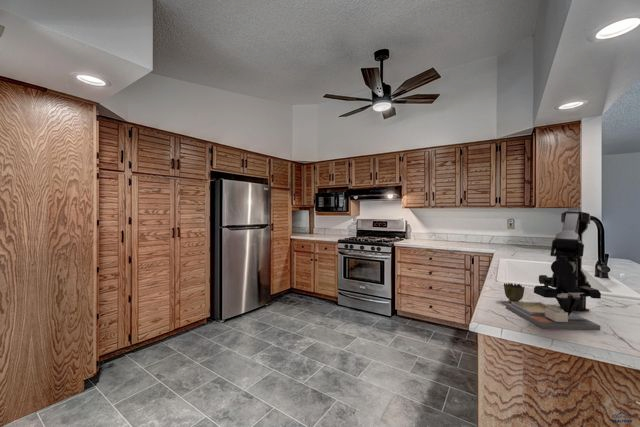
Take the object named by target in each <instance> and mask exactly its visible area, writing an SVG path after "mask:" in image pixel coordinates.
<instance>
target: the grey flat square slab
mask: <svg viewBox="0 0 640 427" xmlns="http://www.w3.org/2000/svg"><path fill="white" fill-rule="evenodd" d="M505 304H506V305H505V307H506V309H508V310H509V311H512V312H513V313H515V314H517V315H518V316H520V317H522V318H523V319H525V320H527V321H528V322H530V323H532V324H534V325H536V327H539V328H540V329H547V330H548V329H550V330H551V329H552V330H553V329H554V330H555V329H556V330H590V331H591V330H592V331H593V330H596V331H600V330H601V325H600V324H598V323H596V322H594V321H591V320H589V319H588V318H585V317H583V316H580V315H578V314H576V313H574V312H571V313H570V315H569V316H568V322H555V321H553V320H551V319H549V318H547V317H546V316H532V315H530V314H528V313H526V312H524V311H522V310H520V309H519V308H517V307H515V306H513V305H511V304H512V303H505ZM547 305H548V306H549V305H550V304H547ZM553 305H554V306H556V307H558V308H560V309H561V307H560V306H558V305H556V304H553Z"/></svg>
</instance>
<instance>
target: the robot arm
mask: <svg viewBox="0 0 640 427" xmlns="http://www.w3.org/2000/svg"><path fill="white" fill-rule="evenodd" d="M560 222H561V223H562V230H561V231H560V232H558V233H556V235H555V236H554V237H555V238H554V239H552V242H551V250H550V257H555V260H554V261H553V262H552V263H551V264H550V270H551V272H552V276H551V277H550V276H548V275H546V274H539V275H538V282H539V284H540V285H535V286H534V287H533V294H536V295H538V296H541V297H543V298H547V299H549V298H551V299H555V300H556V301H557V302H558V305H559V307H560V308H561V309H563V310H564V311H565V312H567V313H568V316H569V315H570V313H573V311H576V312H577V311H580V312H581V311H582V312H589V311H590V309H589V308H586V307H587V297H588V298H589V297H590V298H591V299H601V297H602V296H601V295H602V293H601V292H600V290H599V289H597V288H593V287H592V285H591V284H590V282H589V281H588V279H587V275H586V274H585V271H583V270H582V269H583V267H582V265H583V263H582V262H583V261H582V260H583V257H584V250H585V245H584V243H583V235H584V233H585V232H586V231H587V230H588V228H589V225H590V224H591V214H590V213H589V212H588V213H587V212H583V211H582V210H566V211H565V210H564V212H561V217H560Z"/></svg>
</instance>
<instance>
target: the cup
mask: <svg viewBox="0 0 640 427" xmlns="http://www.w3.org/2000/svg"><path fill="white" fill-rule="evenodd" d="M503 289H504V295H505V297H506V298H507V299H508V302H509V304H512V302H520V301H521V300H522V299H523V297H524V293H525V286H523V285H522V284H520V283H518V284H517V283H514V284H513V283H512V282H508V283H507V282H506V283H505V282H504V283H503Z"/></svg>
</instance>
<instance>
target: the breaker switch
mask: <svg viewBox="0 0 640 427" xmlns="http://www.w3.org/2000/svg"><path fill="white" fill-rule="evenodd" d="M548 305H549V308H545V316H546V317H547V318H549V319H551V320H553V321H555V322H568V313H567V312H565V311H564V310H563V309H560V308H561V307H560V308H558V307H559V306H558V307H556V306H557V305H556V306H554V305H555V304H548Z"/></svg>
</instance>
